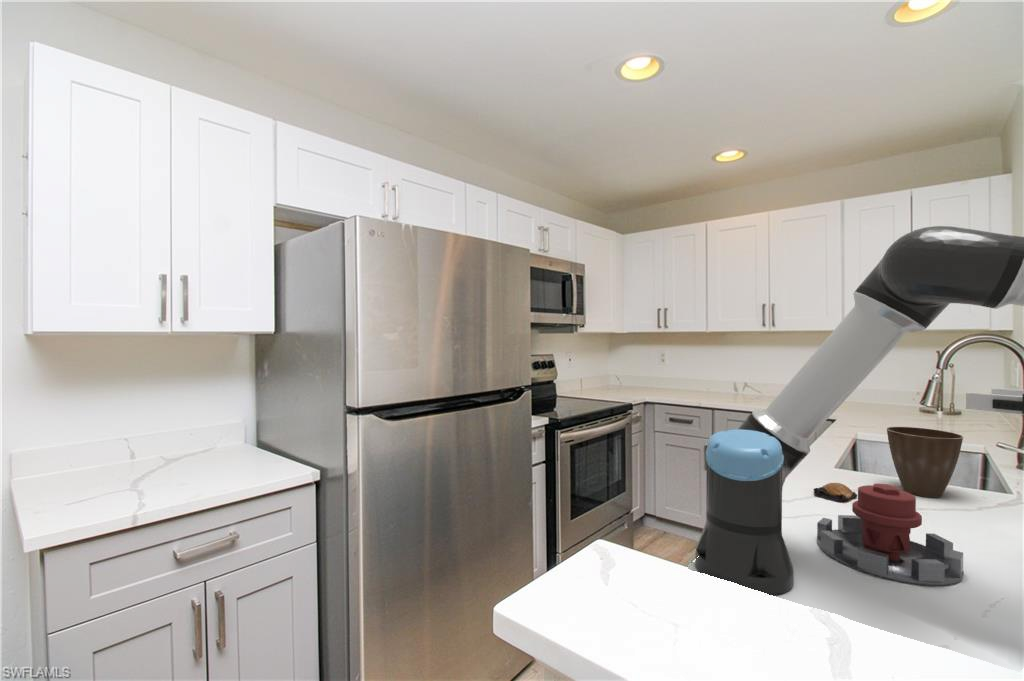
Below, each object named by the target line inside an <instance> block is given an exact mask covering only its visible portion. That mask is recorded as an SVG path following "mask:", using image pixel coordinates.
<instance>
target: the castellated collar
mask: <svg viewBox="0 0 1024 681" xmlns="http://www.w3.org/2000/svg"><path fill="white" fill-rule="evenodd" d="M837 517H838V518H837V529H833V519H831V518H827V517H822V518H821V519H820V520H819V521H818V522H817V523H816V525H817V526H816V527H817V528H816V529H817V531H816V532H817V534H816V538H817V539H816V544H817V546H818V548H819V549H820V550H821V552H823V553H824V554H825V555H826V556H828V557H829V558H831V559H833V560H834V561H836V562H839V563H840V564H842V565H845V566H846V567H849V568H851V569H853V570H856V571H858V572H862V573H863V574H864V573H865V574H867V575H870V576H874V577H878V578H880V579H884V580H888V581H891V582H897V583H903V584H908V585H914V586H915V585H916V586H921V587H922V586H924V587H925V586H926V587H949V586H953V585H956V584H957V585H958V584H959V583H961V582H962V581H963V580H964V575H965V574H964V552H963V551H959V550H954V542H952V541H950V540H948V539H946V538H944V537H942V536H939V535H938V534H936V533H928V532H927V533H925V545H924V544H922V543H919V542H916V541H913V540H910V551H909V552H907V553H900V560H899V561H892V560H890V559H889V555H887V554H883V553H880V552H876V551H873V550H869V549H865V548H863V541H862V537H863V534H862V518H860V517H858V516H857V515H855V514H854V515H850V514H848V515H847V514H845V515H843V514H838V515H837Z"/></svg>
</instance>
